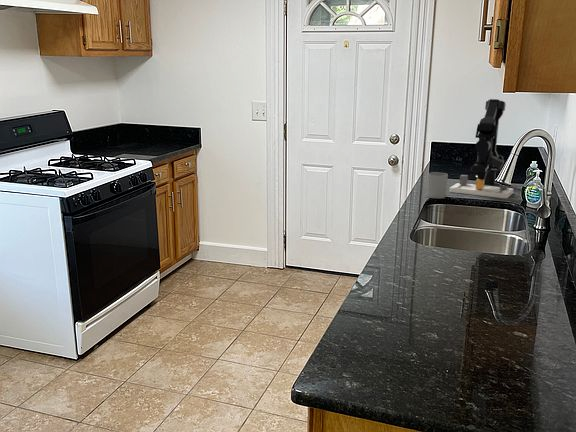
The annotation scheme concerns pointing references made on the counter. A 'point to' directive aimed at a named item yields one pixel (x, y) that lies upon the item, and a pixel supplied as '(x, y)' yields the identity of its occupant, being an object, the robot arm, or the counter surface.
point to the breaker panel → (482, 190)
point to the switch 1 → (463, 179)
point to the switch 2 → (503, 187)
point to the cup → (437, 185)
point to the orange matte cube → (480, 184)
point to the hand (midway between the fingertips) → (481, 184)
